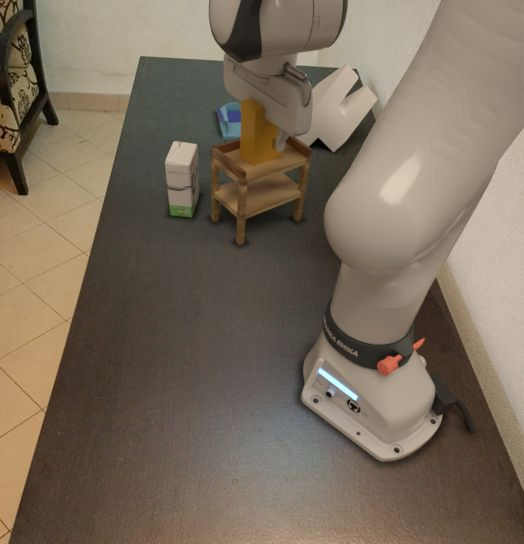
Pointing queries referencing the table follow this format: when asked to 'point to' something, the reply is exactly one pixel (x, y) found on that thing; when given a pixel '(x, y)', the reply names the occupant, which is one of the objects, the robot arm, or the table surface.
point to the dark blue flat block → (230, 116)
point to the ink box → (182, 178)
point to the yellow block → (256, 134)
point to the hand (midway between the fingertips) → (262, 138)
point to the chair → (230, 129)
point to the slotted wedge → (337, 108)
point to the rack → (257, 182)
